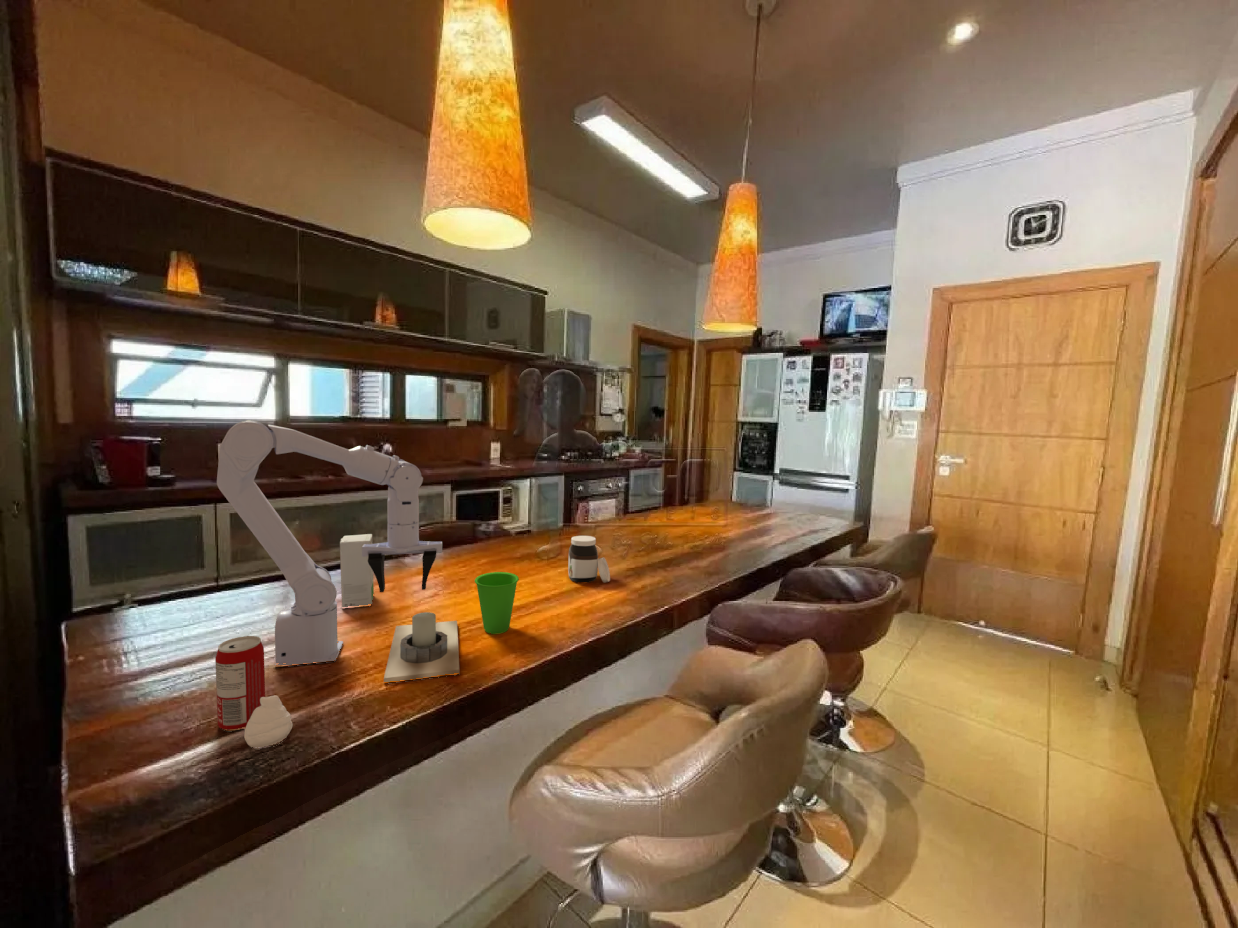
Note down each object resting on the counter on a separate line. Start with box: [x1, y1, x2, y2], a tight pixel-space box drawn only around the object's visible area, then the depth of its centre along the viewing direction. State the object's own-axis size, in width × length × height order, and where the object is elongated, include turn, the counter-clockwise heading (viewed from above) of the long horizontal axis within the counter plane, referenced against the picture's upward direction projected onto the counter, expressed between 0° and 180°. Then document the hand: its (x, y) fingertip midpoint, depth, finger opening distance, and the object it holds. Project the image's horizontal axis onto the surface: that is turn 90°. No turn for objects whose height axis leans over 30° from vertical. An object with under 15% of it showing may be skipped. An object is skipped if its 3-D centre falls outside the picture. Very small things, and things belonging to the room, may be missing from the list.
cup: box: [474, 571, 520, 635], centre depth 108 cm, size 9×9×11 cm
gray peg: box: [411, 611, 437, 647], centre depth 94 cm, size 4×4×7 cm
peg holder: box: [383, 620, 460, 683], centre depth 97 cm, size 12×22×4 cm, turn 19°
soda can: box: [215, 635, 266, 730], centre depth 73 cm, size 6×6×12 cm
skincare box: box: [339, 533, 375, 608], centre depth 120 cm, size 8×7×16 cm
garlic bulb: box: [243, 695, 294, 748], centre depth 70 cm, size 6×6×5 cm
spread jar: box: [567, 535, 611, 583], centre depth 143 cm, size 12×11×12 cm
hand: (403, 589), depth 102 cm, fingers open, 7 cm apart
